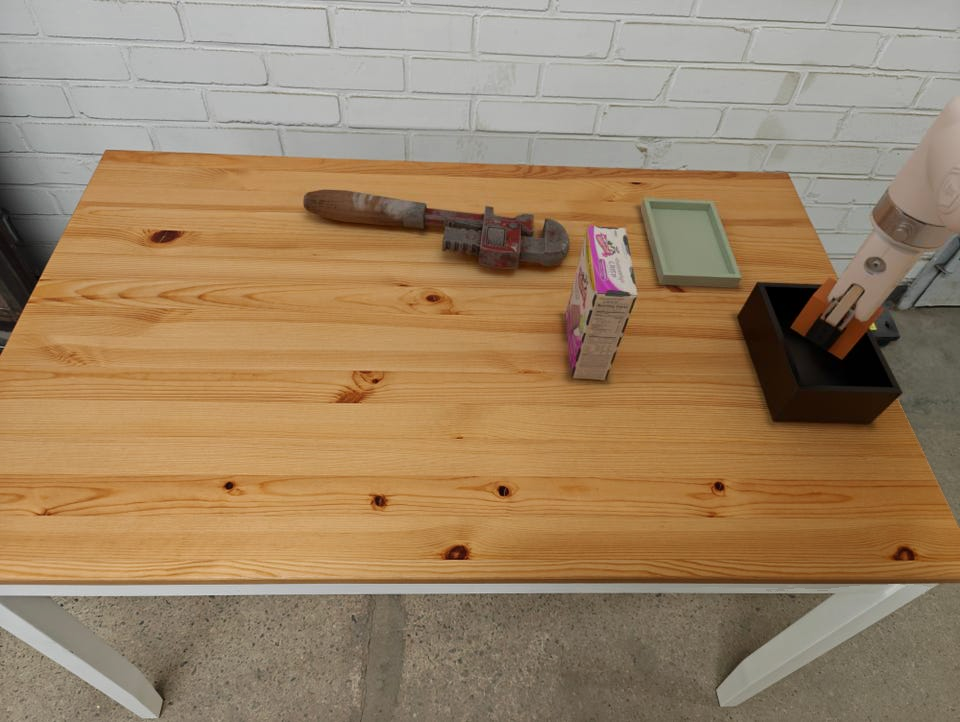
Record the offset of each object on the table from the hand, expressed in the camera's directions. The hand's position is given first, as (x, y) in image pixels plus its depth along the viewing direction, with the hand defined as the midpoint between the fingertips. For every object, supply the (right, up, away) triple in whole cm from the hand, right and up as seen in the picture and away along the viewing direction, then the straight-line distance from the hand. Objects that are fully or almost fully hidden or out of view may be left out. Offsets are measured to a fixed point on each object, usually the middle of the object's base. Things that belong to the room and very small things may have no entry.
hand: (827, 330), depth 78 cm
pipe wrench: (-50, +14, +17) cm, 55 cm away
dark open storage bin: (0, -5, +6) cm, 7 cm away
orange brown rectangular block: (0, 0, +1) cm, 1 cm away
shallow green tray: (-11, +14, +20) cm, 27 cm away
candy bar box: (-29, -2, +6) cm, 30 cm away
